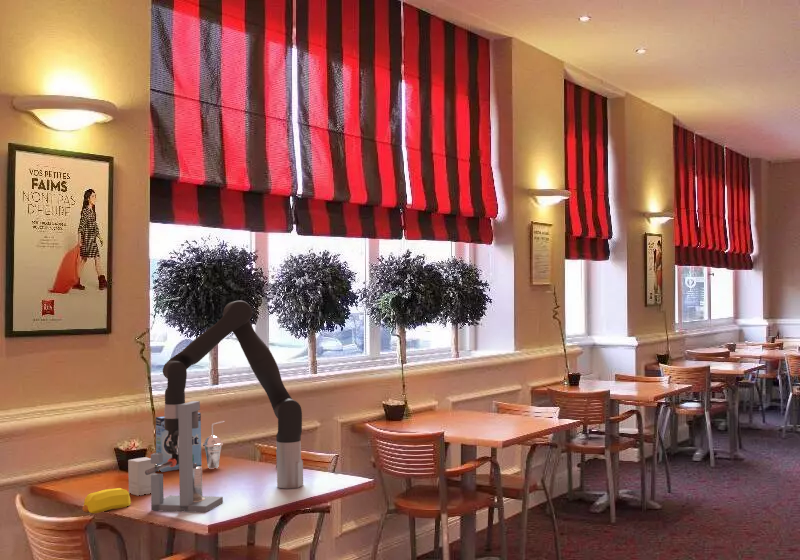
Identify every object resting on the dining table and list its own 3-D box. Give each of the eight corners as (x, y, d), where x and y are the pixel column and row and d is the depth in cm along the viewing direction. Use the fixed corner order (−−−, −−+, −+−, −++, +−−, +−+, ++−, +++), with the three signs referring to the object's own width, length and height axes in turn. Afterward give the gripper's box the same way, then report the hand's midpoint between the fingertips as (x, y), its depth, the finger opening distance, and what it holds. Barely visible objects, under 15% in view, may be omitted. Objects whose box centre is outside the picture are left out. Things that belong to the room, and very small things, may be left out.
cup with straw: (207, 465, 373) (206, 419, 373) (227, 466, 371) (226, 419, 372) (200, 469, 364) (199, 422, 365) (220, 469, 363) (219, 422, 363)
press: (222, 502, 303) (221, 400, 304) (206, 512, 289) (204, 405, 290) (170, 501, 307) (168, 400, 308) (151, 510, 293) (149, 404, 294)
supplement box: (156, 492, 321) (155, 458, 322) (137, 496, 316) (137, 461, 316) (146, 490, 326) (145, 456, 327) (128, 493, 321) (127, 459, 321)
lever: (178, 466, 307) (178, 457, 307) (151, 477, 288) (151, 467, 288) (169, 466, 308) (169, 457, 308) (142, 477, 288) (142, 467, 288)
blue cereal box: (196, 464, 377) (195, 411, 378) (202, 465, 374) (201, 412, 374) (155, 471, 364) (155, 416, 364) (161, 472, 360) (161, 417, 361)
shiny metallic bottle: (204, 498, 301) (204, 462, 301) (198, 501, 297) (198, 464, 297) (192, 497, 302) (191, 461, 303) (185, 500, 298) (185, 464, 298)
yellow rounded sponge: (136, 506, 301) (125, 503, 306) (136, 487, 301) (124, 484, 306) (88, 516, 288) (77, 513, 293) (88, 496, 288) (76, 493, 293)
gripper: (176, 418, 302) (176, 468, 302) (192, 413, 315) (193, 461, 315) (156, 418, 304) (157, 468, 303) (174, 413, 317) (174, 460, 316)
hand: (175, 464), depth 309 cm, fingers closed
